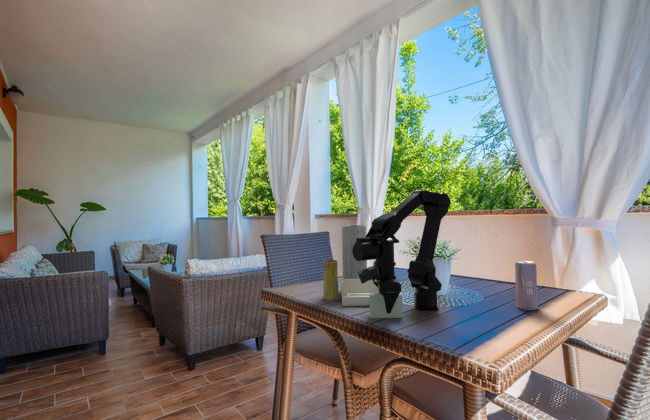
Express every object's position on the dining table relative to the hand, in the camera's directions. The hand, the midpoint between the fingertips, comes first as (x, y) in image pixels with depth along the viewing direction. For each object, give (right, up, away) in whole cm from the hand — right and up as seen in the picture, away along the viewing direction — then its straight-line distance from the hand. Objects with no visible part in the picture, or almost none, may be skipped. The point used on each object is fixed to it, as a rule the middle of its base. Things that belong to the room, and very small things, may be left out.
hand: (385, 308), depth 100 cm
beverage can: (+47, -2, +6) cm, 48 cm away
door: (0, -2, 0) cm, 2 cm away
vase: (-16, -3, +23) cm, 29 cm away
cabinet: (-5, -3, +19) cm, 20 cm away
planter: (-6, -3, +34) cm, 35 cm away
